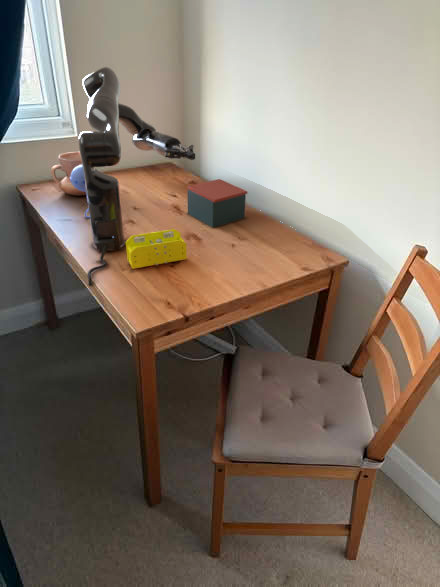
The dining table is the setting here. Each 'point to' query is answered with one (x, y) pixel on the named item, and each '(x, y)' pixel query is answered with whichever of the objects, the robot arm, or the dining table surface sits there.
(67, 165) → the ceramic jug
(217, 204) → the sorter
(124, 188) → the dining table surface
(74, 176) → the baby rattle
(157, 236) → the yellow toy chassis
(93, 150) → the robot arm
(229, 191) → the sorter lid
